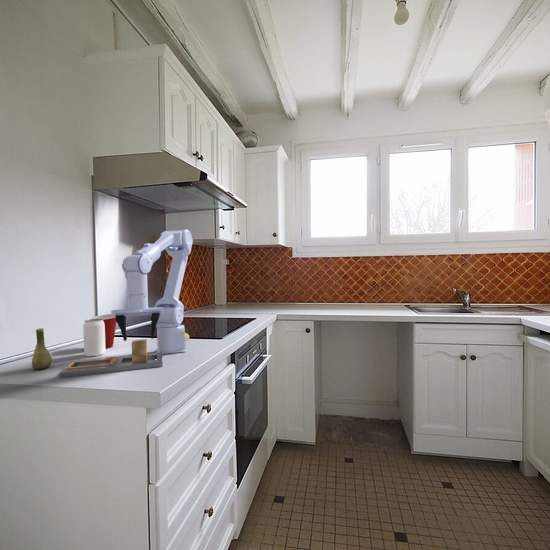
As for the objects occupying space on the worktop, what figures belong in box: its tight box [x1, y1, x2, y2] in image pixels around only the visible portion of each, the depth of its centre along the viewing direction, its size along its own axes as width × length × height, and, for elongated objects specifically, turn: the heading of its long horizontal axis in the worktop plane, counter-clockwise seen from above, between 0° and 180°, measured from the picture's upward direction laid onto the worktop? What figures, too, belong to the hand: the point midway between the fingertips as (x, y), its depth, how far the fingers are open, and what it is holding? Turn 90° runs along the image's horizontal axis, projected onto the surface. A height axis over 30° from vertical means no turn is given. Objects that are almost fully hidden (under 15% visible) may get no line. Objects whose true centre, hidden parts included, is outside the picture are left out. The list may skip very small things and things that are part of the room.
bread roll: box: [185, 332, 190, 342], centre depth 135 cm, size 8×9×4 cm
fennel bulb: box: [31, 327, 53, 370], centre depth 100 cm, size 6×5×12 cm
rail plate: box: [59, 352, 164, 379], centre depth 100 cm, size 26×12×2 cm, turn 109°
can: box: [82, 319, 107, 358], centre depth 115 cm, size 6×6×12 cm
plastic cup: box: [85, 313, 117, 349], centre depth 125 cm, size 11×11×12 cm
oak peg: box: [131, 338, 148, 362], centre depth 102 cm, size 4×4×7 cm
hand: (139, 339), depth 102 cm, fingers open, 7 cm apart
